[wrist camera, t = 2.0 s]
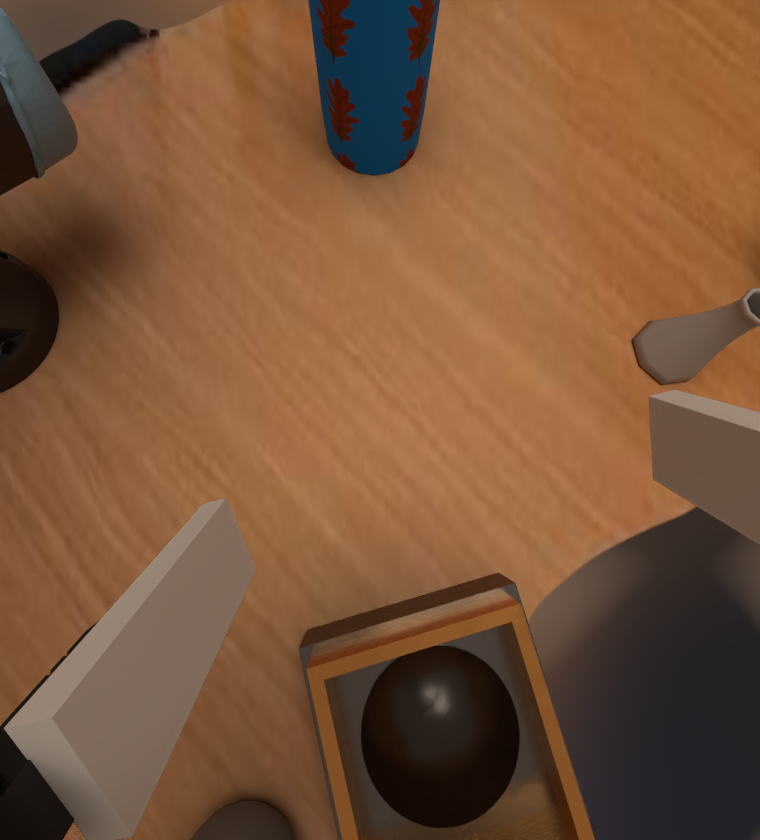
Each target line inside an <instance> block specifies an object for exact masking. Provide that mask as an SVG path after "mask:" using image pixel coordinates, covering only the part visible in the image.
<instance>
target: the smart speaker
mask: <svg viewBox="0 0 760 840" xmlns="http://www.w3.org/2000/svg"><path fill="white" fill-rule="evenodd" d="M190 840H296V839H295V836H294V834H293V832H292V830H291V828H290V826H289V824H288V822H287V821H286V820H285V818H284V817H283V816H282V815H281V814H280V813H279V812H278V811H277V810H275V809H274V808H273V807H271V806H269V805H267V804H265V803H262V802H258V801H241V802H237V803H234V804H231V805H229V806H227V807H225V808H223V809H221V810H220V811H218V812H217V813H215V814H214V815H213V816H211V817H210V818H209V819H208V820H207V821H206V822H205V823H204V824H203V825H202V826H201V827H200V828H199V829H198V831H197V832H196V833H195V834H194V835H193V837H192V838H191V839H190Z"/></svg>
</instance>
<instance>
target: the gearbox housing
mask: <svg viewBox="0 0 760 840" xmlns="http://www.w3.org/2000/svg"><path fill="white" fill-rule="evenodd" d="M299 652H300V657H301V661H302V666H303V671H304V676H305V681H306V685H307V690H308V695H309V700H310V704H311V709H312V714H313V719H314V723H315V728H316V733H317V738H318V743H319V747H320V752H321V757H322V762H323V766H324V771H325V776H326V781H327V785H328V790H329V795H330V800H331V805H332V809H333V814H334V819H335V824H336V828H337V833H338V838H339V840H595V839H594V836H593V833H592V829H591V826H590V823H589V820H590V818H589V815H588V812H587V808H586V805H585V802H584V799H583V796H582V793H581V789H580V786H579V783H578V780H577V777H576V774H575V770H574V767H573V764H572V761H571V758H570V755H569V751H568V748H567V745H566V742H565V739H564V736H563V732H562V729H561V726H560V723H559V720H558V717H557V713H556V710H555V707H554V704H553V701H552V698H551V694H550V691H549V688H548V685H547V682H546V678H545V675H544V672H543V669H542V666H541V663H540V660H539V656H538V653H537V650H536V647H535V644H534V640H533V637H532V634H531V631H530V628H529V624H528V621H527V618H526V615H525V612H524V609H523V605H522V602H521V599H520V596H519V593H518V590H517V586H516V583H515V582H513V581H511V580H510V579H508V578H507V577H505V576H503V575H502V574H500V573H496V574H493V575H490V576H486V577H483V578H480V579H476V580H473V581H469V582H466V583H463V584H459V585H456V586H453V587H449V588H446V589H443V590H439V591H436V592H433V593H429V594H426V595H423V596H419V597H416V598H413V599H409V600H406V601H402V602H399V603H396V604H392V605H389V606H386V607H382V608H379V609H376V610H372V611H369V612H366V613H362V614H359V615H356V616H352V617H349V618H346V619H342V620H339V621H335V622H332V623H329V624H325V625H322V626H319V627H315V628H312V629H309V630H307V631H306V633H305V636H304V638H303V640H302V642H301V644H300V647H299Z"/></svg>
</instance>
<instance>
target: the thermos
mask: <svg viewBox="0 0 760 840" xmlns="http://www.w3.org/2000/svg"><path fill="white" fill-rule="evenodd" d="M439 3H440V0H309V8H310V16H311V24H312V32H313V40H314V49H315V57H316V65H317V73H318V81H319V89H320V97H321V105H322V112H323V118H324V123H325V129H326V134H327V140H328V144H329V146H330V149H331V151H332V153H333V155H334V157H335V158H336V159H337V160H338V161H339V162H340V163H341V164H342V165H343V166H345V167H347V168H349V169H351V170H353V171H355V172H357V173H362V174H369V175H379V174H385V173H390V172H392V171H394V170H396V169H398V168H400V167H402V166H404V165H405V164H406V162H407V161H408V160H409V159H410V158H411V157H412V156H413V154H414V151H415V149H416V146H417V143H418V138H419V133H420V128H421V123H422V118H423V113H424V108H425V101H426V94H427V87H428V80H429V73H430V66H431V59H432V52H433V45H434V38H435V31H436V24H437V17H438V10H439Z"/></svg>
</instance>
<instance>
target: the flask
mask: <svg viewBox="0 0 760 840" xmlns="http://www.w3.org/2000/svg"><path fill="white" fill-rule="evenodd" d="M758 326H760V288H753V289H750V290H749V291H747V292H746V294H745V295H744V296H743V297H742V298H741V299H739V300H737V301H735V302H733V303H731V304H729V305H726V306H723V307H720V308H717V309H714V310H711V311H707V312H702V313H697V314H691V315H686V316H681V317H674V318H668V319H661V320H655V321H650V322H648V323H647V324H646V325H645V326H644V327H643V329H642V330H641V331H640V332H639V333H638V334H637V335H636V336H635V337H634V338H633V339H632V340H633V344H634V347H635V351H636V354H637V358H638V361H639V365H640V366H641V367H642V368H643V369H644V370H645V371H647V372H648V373H649V374H650V375H651V376H652V377H653V378H655V379H656V380H657V381H658V382H659V383H660V384H662V385H663V384H670V383H678V382H685V381H689V380H690V379H691V378H692V377H693V376H695V375H696V374H697V373H698V372H699V371H700V370H701V369H702V368H703V367H704V366H705V365H706V364H707V363H708V362H709V361H710V360H711V359H712V358H713V357H715V356H716V355H717V354H718V353H719V352H720V351H721V350H722V349H724V348H725V347H726V346H727V345H728V344H729V343H730V342H732V341H733V340H735V339H736V338H738V337H740V336H741V335H743V334H744V333H746V332H747V331H749V330H751V329H754V328H756V327H758Z"/></svg>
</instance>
